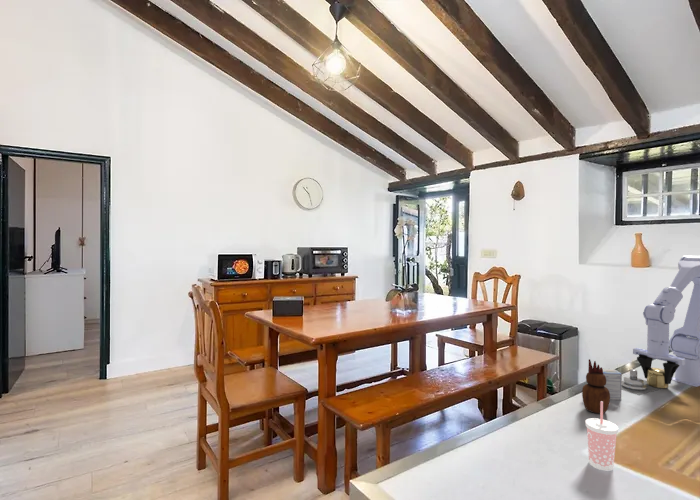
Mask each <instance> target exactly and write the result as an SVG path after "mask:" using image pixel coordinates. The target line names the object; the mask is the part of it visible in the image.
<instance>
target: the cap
mask: <svg viewBox="0 0 700 500" xmlns="http://www.w3.org/2000/svg"><path fill="white" fill-rule="evenodd" d="M646 381H647V384H648V385H650V386H653V387H657V388H663V389H666V388H669V385H670V384H665V372H664V368H659V367H651V368H648V371H647V379H646Z"/></svg>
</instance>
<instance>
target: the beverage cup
mask: <svg viewBox="0 0 700 500" xmlns="http://www.w3.org/2000/svg"><path fill="white" fill-rule="evenodd" d="M599 414H600V415H599V416H600V417H599V418H596V417H592V418H591V417H590V418H587V419H585V421H584V422H585V427H586V434H587V453H588V464H589V465H590V466H591V467H593V468H595V469H596V470H599V471H603V472H606V471H607V472H609V471H610V472H611V471H613V470H614V469H615V468H614V467H615V457H616V456H615V455H616V443H617V434H618V433H619V426H618V425H617V424H616V423H614V422H612V421H609V420H606V419H604V413H603V401H601V404H600V413H599Z"/></svg>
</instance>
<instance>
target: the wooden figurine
mask: <svg viewBox="0 0 700 500" xmlns="http://www.w3.org/2000/svg"><path fill="white" fill-rule="evenodd" d="M593 361H594V362H593V365H592V361H591V359H588V370H589V372H587V373H586V375H585V379H586V380H585V381H586V383H585V384H584V385H582V389H581V391H582V392H581V395H582V401H583V405H584V408H585V409H586V410H587V411H589V412H591V413H594V414H600V404H601V401H603V414H605V413H606V412H607V411H608V409H609V406H610V402H611V401H610V400H611V399H610V392H609V390H608V389H607V388H606V387H605V385H606V377H605V375H604V374H603V369H604V368H603V367H600V364H597V362H596V360H593Z"/></svg>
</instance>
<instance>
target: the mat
mask: <svg viewBox="0 0 700 500" xmlns="http://www.w3.org/2000/svg"><path fill="white" fill-rule="evenodd" d="M642 380H643V381H644V385H646V387H647V389H646V390H644V391H637V390H631V389H627V388H624V387H622V389H621V391H625V392H628V393H631V394H634V395H637V396H641V395H645V394H648V393H649V394H650V393H651V392H655V391H659V390H663V389H664V388H657V387H653V386H650V385H648V384H647V380H645V379H642Z"/></svg>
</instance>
